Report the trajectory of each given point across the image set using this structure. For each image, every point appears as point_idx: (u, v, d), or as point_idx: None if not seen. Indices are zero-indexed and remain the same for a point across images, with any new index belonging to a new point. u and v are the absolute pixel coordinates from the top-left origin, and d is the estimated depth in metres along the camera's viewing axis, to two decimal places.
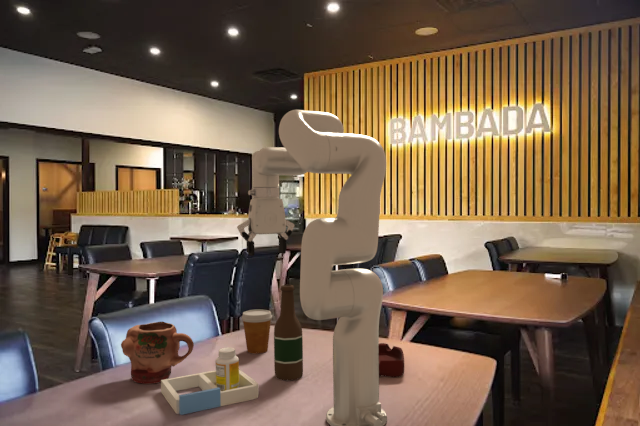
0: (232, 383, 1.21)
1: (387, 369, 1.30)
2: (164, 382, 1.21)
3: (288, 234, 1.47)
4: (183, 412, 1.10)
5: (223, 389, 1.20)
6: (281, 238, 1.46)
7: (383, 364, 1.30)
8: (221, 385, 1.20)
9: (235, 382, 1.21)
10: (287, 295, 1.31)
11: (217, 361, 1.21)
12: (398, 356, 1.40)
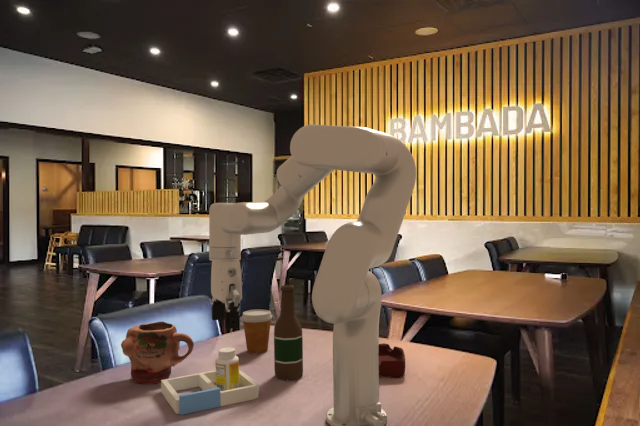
0: (232, 383, 1.21)
1: (388, 369, 1.30)
2: (164, 382, 1.21)
3: None
4: (183, 412, 1.10)
5: (223, 389, 1.20)
6: (218, 302, 1.27)
7: (384, 364, 1.30)
8: (221, 385, 1.20)
9: (235, 382, 1.21)
10: (287, 295, 1.32)
11: (217, 361, 1.21)
12: (399, 356, 1.39)
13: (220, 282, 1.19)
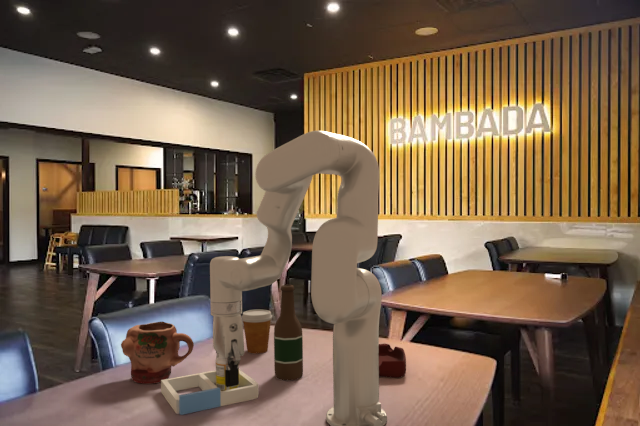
0: None
1: (389, 370, 1.30)
2: (164, 382, 1.21)
3: None
4: (183, 412, 1.10)
5: (223, 389, 1.20)
6: None
7: (385, 365, 1.30)
8: (221, 385, 1.20)
9: None
10: (287, 295, 1.31)
11: (217, 361, 1.21)
12: (400, 357, 1.39)
13: (222, 338, 1.19)
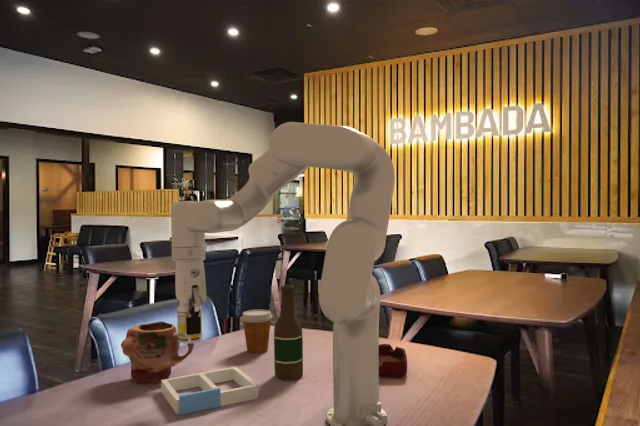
0: None
1: (390, 370, 1.29)
2: (164, 382, 1.21)
3: None
4: (183, 412, 1.10)
5: (184, 337, 1.15)
6: None
7: (386, 365, 1.30)
8: (182, 334, 1.16)
9: None
10: (287, 295, 1.32)
11: (178, 309, 1.16)
12: (401, 357, 1.39)
13: (183, 283, 1.14)
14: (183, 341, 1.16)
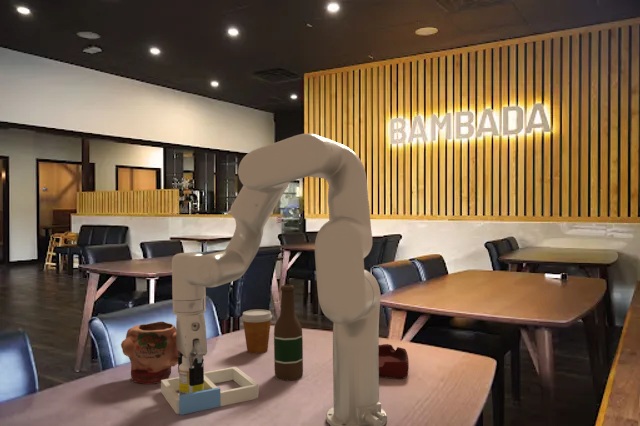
0: (195, 390, 1.16)
1: (391, 370, 1.29)
2: (164, 382, 1.21)
3: None
4: (183, 412, 1.10)
5: None
6: None
7: (387, 365, 1.29)
8: (184, 393, 1.16)
9: (198, 389, 1.17)
10: (287, 295, 1.32)
11: (180, 367, 1.17)
12: (402, 357, 1.39)
13: (183, 337, 1.14)
14: None
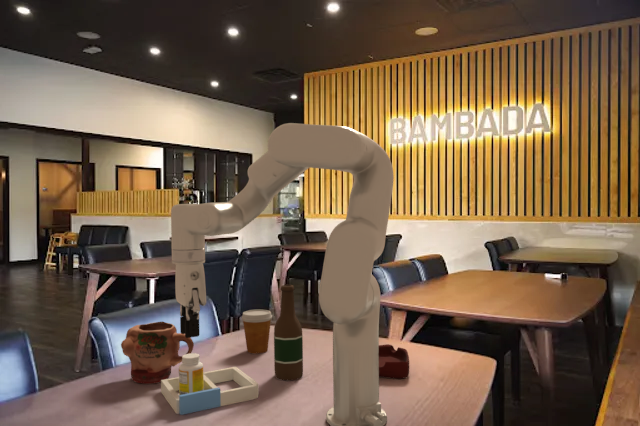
0: (195, 390, 1.16)
1: (392, 371, 1.29)
2: (164, 382, 1.21)
3: None
4: (183, 412, 1.10)
5: None
6: None
7: (388, 366, 1.29)
8: (184, 393, 1.16)
9: (198, 389, 1.17)
10: (287, 295, 1.31)
11: (180, 367, 1.17)
12: (403, 357, 1.38)
13: (183, 286, 1.14)
14: None
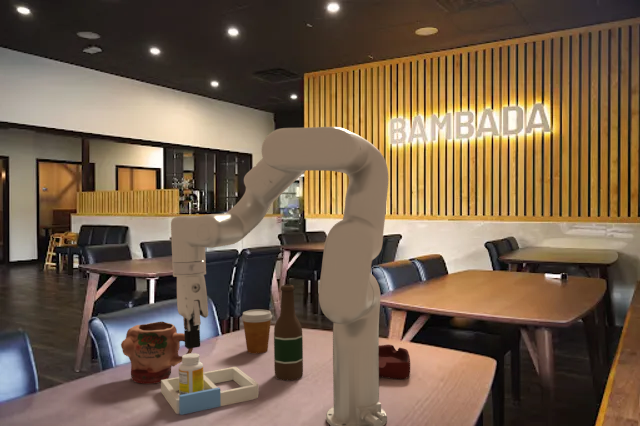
0: (195, 390, 1.16)
1: (393, 371, 1.29)
2: (164, 382, 1.21)
3: None
4: (183, 412, 1.10)
5: None
6: None
7: (389, 366, 1.29)
8: (184, 393, 1.16)
9: (198, 389, 1.17)
10: (287, 295, 1.32)
11: (180, 367, 1.17)
12: (404, 358, 1.38)
13: (184, 299, 1.14)
14: None
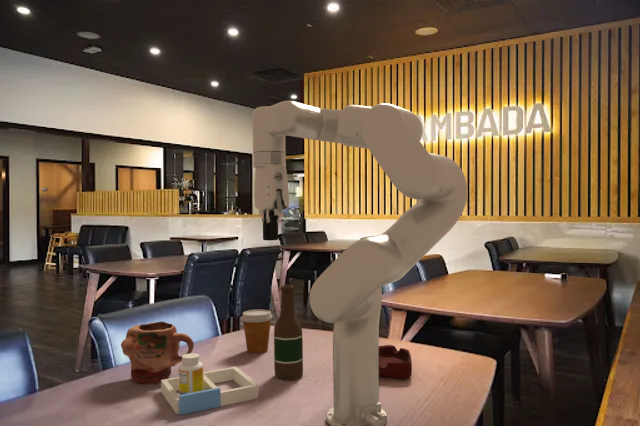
0: (195, 390, 1.16)
1: (395, 371, 1.28)
2: (164, 382, 1.21)
3: None
4: (183, 412, 1.10)
5: None
6: None
7: (390, 366, 1.28)
8: (184, 393, 1.16)
9: (198, 389, 1.17)
10: (287, 295, 1.31)
11: (180, 367, 1.17)
12: (405, 358, 1.38)
13: (266, 187, 1.13)
14: None
